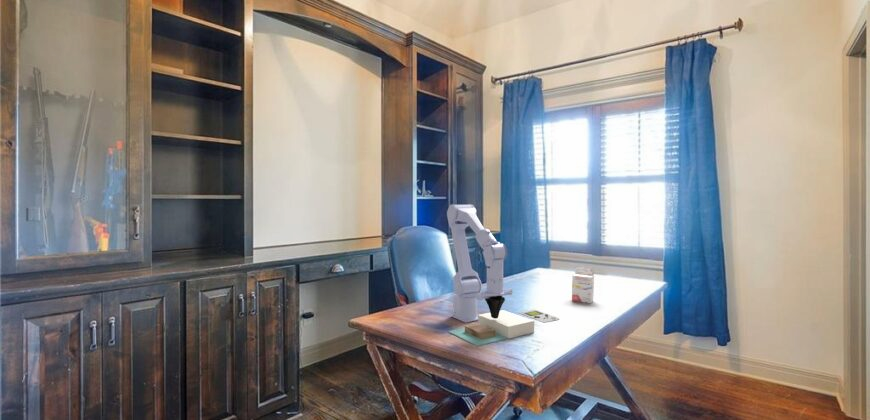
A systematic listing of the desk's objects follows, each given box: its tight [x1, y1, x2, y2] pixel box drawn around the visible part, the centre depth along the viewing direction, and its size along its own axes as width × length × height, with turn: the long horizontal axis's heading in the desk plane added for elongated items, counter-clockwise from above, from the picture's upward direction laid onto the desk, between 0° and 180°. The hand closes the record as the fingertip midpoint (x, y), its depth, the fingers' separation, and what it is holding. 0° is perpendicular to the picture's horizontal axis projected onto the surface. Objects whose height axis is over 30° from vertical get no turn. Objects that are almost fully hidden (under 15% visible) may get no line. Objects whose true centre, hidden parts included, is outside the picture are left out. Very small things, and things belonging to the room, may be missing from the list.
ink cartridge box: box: [571, 266, 595, 304], centre depth 185 cm, size 9×5×15 cm, turn 58°
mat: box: [448, 327, 508, 347], centre depth 139 cm, size 16×13×1 cm
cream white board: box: [477, 309, 535, 340], centre depth 146 cm, size 16×12×4 cm
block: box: [464, 322, 496, 339], centre depth 140 cm, size 9×6×2 cm, turn 33°
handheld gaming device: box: [518, 309, 560, 323], centre depth 162 cm, size 9×1×15 cm
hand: (494, 317), depth 143 cm, fingers closed
